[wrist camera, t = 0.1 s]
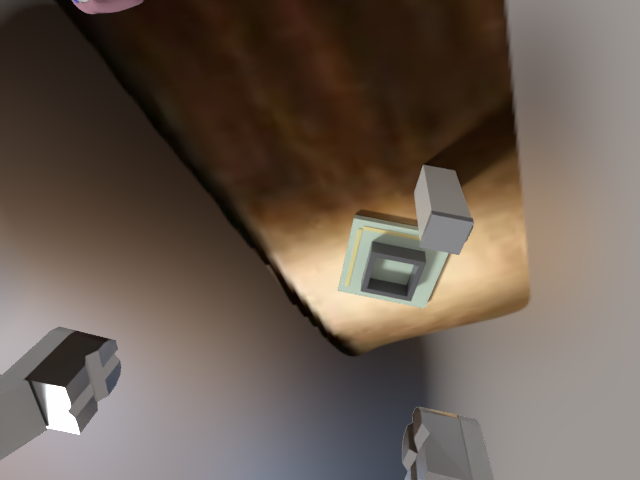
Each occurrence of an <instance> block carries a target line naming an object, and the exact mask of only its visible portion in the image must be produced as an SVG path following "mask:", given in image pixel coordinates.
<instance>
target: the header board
mask: <svg viewBox="0 0 640 480" xmlns="http://www.w3.org/2000/svg"><path fill="white" fill-rule="evenodd" d="M447 256H448V253H447V252H442V251H436V250H431V249H426V248H421V247H420V238H419V229H418V227H417V226H411V225H406V224H401V223H396V222H391V221H386V220H380V219H375V218H370V217H365V216H360V215H354V219H353V224H352V228H351V233H350V237H349V242H348V246H347V251H346V255H345V260H344V264H343V269H342V273H341V278H340V282H339V287H338V291H341V292H346V293H351V294H356V295H361V296H366V297H371V298H376V299H381V300H385V301H390V302H395V303H400V304H405V305H410V306H415V307H420V308H425V306H426V304H427V302H428V300H429V297H430V295H431V293H432V290H433V288H434V286H435V283H436V281H437V279H438V276H439V274H440V272H441V270H442V267H443V265H444V263H445V260H446V258H447Z"/></svg>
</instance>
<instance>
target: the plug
mask: <svg viewBox="0 0 640 480" xmlns="http://www.w3.org/2000/svg"><path fill="white" fill-rule="evenodd" d="M414 195H415V204H416V212H417V221H418V229H419V238H420V247H421V248H426V249H431V250H436V251H442V252H447V253H452V254H457V255H459V254H460V252H461V250H462V247H463V245H464V243H465V242H466V241H467V239H468V237H469V235H470V233H471V230H472V228H473V223H474V221H473V218H471V215H470V212H469V209H468V206H467V203H466V201H465V198H464V195H463V192H462V189H461V186H460V183H459V180H458V177H457V174H456V172H455V170H449V169H444V168H438V167H433V166H428V165H423V167H422V170H421V173H420V176H419V179H418V182H417V185H416V188H415V192H414Z"/></svg>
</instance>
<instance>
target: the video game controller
mask: <svg viewBox="0 0 640 480" xmlns="http://www.w3.org/2000/svg"><path fill="white" fill-rule="evenodd" d="M72 1H73V3H74V4H75V5H76V6H77V7H78V8H79V9H80V10H82V11H83V12H85V13H89V14H97V13H112V12H118V11H122V10H125V9H128V8H131V7H133V6H136V5H139V4H141V3H142V2H143V1H144V0H72Z"/></svg>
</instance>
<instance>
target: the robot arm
mask: <svg viewBox="0 0 640 480" xmlns="http://www.w3.org/2000/svg"><path fill="white" fill-rule="evenodd" d="M117 350H118V348H117V344H116V340H112V339H108V338H104V337H100V336H96V335H92V334H88V333H84V332H79V331H76V330H71V329H67V328H63V327H58V328H56V329H53V330H51V331H50V332H49V333H48V334H47V335H46V336H44V337H43V339H41V340H40V341H39V342H38V343H37V344H36V345H35V346H34V347H32V348H31V349H30V350H29V351H28V352H27V353H26V354H25V355H24V356H22V357H21V358H20V359H19V360H18V361H17V362H16V363H15V364H14V365H13V366H11V367H10V368H9V369H8V370H7V371H6V372H5V373H4V374H3V375H0V460H1V459H3V458H5V457H6V456H8V455H9V454H11V453H12V452H14V451H15V450H17V449H18V448H20V447H22V446H23V445H25V444H26V443H28V442H29V441H31V440H32V439H34V438H35V437H37V436H38V435H40V434H41V433H43V432H44V431H46V430H47V428H52V429H57V430H62V431H67V432H72V433H77V434H80V433H81V432H82V431H83V429H84V428H85V427H86V425H87V424H88V423H89V421H90V420H91V418H92V417H93V416H94V414H95V413H96V412H97V411H98V407H97V406H98V404H97V402H98V401H99V400H101V399H103V398H105V397H107V396H108V395H109V394H110V393H111V391H112V390H113V389H114V387H115V386H116V384H117V381H118V379H119V376H120V372H121V364H120V360H119V359H118V358H117V357H116V355H115V354H114V353H115V352H116V351H117ZM412 417H413V423H411V424H409V425H407V428H406V430H405V433H404V438H403V443H402V463H403V465H404V466H405V468H406V469H407V470H408V473H407V475H406V477H405V479H404V480H494V477H493V473H492V469H491V465H490V461H489V457H488V454H487V450H486V446H485V442H484V438H483V434H482V430H481V427H480V424H479V422H478V421H477V420H476V419H472V418H467V417H463V416H458V415H455V414H451V413H446V412H441V411H437V410H432V409H427V408H422V407H417V408H415V410H414V412H413V414H412Z"/></svg>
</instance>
